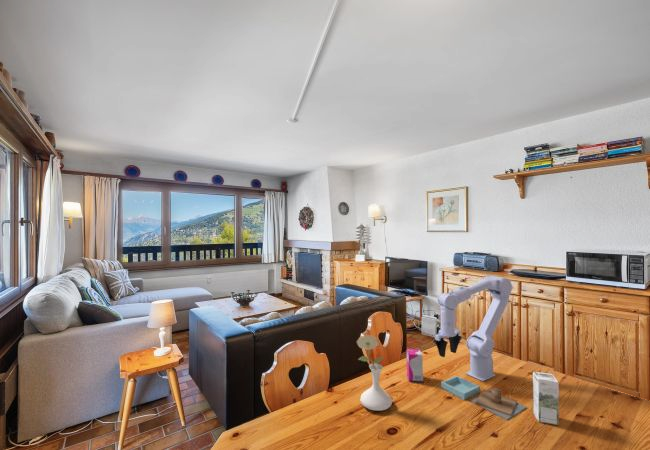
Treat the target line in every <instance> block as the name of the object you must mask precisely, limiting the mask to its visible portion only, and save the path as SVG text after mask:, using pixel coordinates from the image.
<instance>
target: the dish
mask: <svg viewBox="0 0 650 450" xmlns="http://www.w3.org/2000/svg"><path fill="white" fill-rule="evenodd" d="M440 389H442V390H443V391H445V392H446V393H449V394H452V395H453V396H455V397H457V398H458V399H461V400H463V401H466V400H468V399H470V398H472V397H474V396H476V395H478V394H481V386H480V385H478V384H476V383H474V382H472V381H470V380H468V379H465V378H463V377H461V376H458V375H455V376H453V377H450V378H448V379H445V380H443V381H441V383H440Z"/></svg>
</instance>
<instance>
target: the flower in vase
mask: <svg viewBox="0 0 650 450" xmlns="http://www.w3.org/2000/svg"><path fill="white" fill-rule="evenodd" d="M356 344H357V346H358V347H359V348H360V349H362V350H363V349H364V350H365V351H367V356H368V357H367V356H365V355H362V356H360V357H359V358H358V359H357V360H358V361H361V362H365V363H366V362H368V361H370V363H371V364H369V365H368V368H369V369H370V370H371V376H372V385H371V386H370V387H369V388H368V389H366V390H364V392H363V393H362V394H361V396H360V397H359V399H360V401H359V402H360V403H361V404H362V406H364V407H365V408H366V409H368V410H371V411H378V412H380V411H381V412H382V411H386V410H388V409H389V408H390V407H392V404H393V399H392V397H391V395H389V394H388V392H386V391H385V390H384V389H382V387H381V386H380V375H381V372H382V370H383V368H384V366H383V365H382V364H380V362H382V360H383V358H384V356H380V357H376V358H374V360H373V361H372V359H371V358H370V350H374V349H376V348H377V347H378V345H379V344H380V343H379V341H378V338H377V337H376V336H373V335H372V334H370V335H369V334H363V335H361V336H359V337H358V339H357V340H356Z"/></svg>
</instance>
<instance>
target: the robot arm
mask: <svg viewBox="0 0 650 450" xmlns="http://www.w3.org/2000/svg"><path fill="white" fill-rule="evenodd" d="M513 287H514V286H513V284H512V282H511V280H510V279H509V278H508V277H500V276H496V275H492V274H488V275H487V276H484V277H483V278H481V280H479V281H476V282H475V283H472V284H471V285H469V286H467V287H466V286H462V285H459V286H458V287H457V288H455V289H453V290H449V291H448V292H443V293H441V294H440V295H439V297H438V299H437V302H438V304H439V308H440V329H439V330H438V333H436V334H435V335H434V337H433V342H434V344H435V346H436V347H437V351H438V355H439V357H442V358H445V357H446V350H447V345H448V343H449V350H450V352H451V353H453V354H456V353H457V350H458V346H459V344H460V342H461V340H462V336H461V330H460V329H457V328H456V308H457V307H458V306H459V305H460V304H462V303H463V302H465V301H468V300H470V299H471V297H472V295H474V294H476V293H480V292H482V291H485V290H487V291H488V292H489V293H490V294H491V295H492V298H493V299H492V301H491V303H490V305H489V307H488V309H487V311H486V314H485V315H484V318H483V320H482V322H481V323H480V326H479V328H478V330H476V331H472V334H471V335H470V336H468V338H467V340H466V347H467V349H468V351H469V366H470V367H469V369H470V370H469V371H466V372H465V375H468V376H470V377H472V378H475V379H476V380H479V381H481V382H485V381H487V380H489V379H492V378H493V377H496V374H495V373H494V360H493V357H492V354H493V352H494V346H495V341H494V339H493V338H492V337H493V334H494V333H495V331H496V328H497V327H498V324H499V322H500V320H501V318H502V316H503V314H504V312H505V309H507V308H506V307H507V305H508V303H509V301H510V300H509V299H510V295H511V293H512V291H513V289H514V288H513ZM446 338H448V341H446V340H445V339H446Z"/></svg>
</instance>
